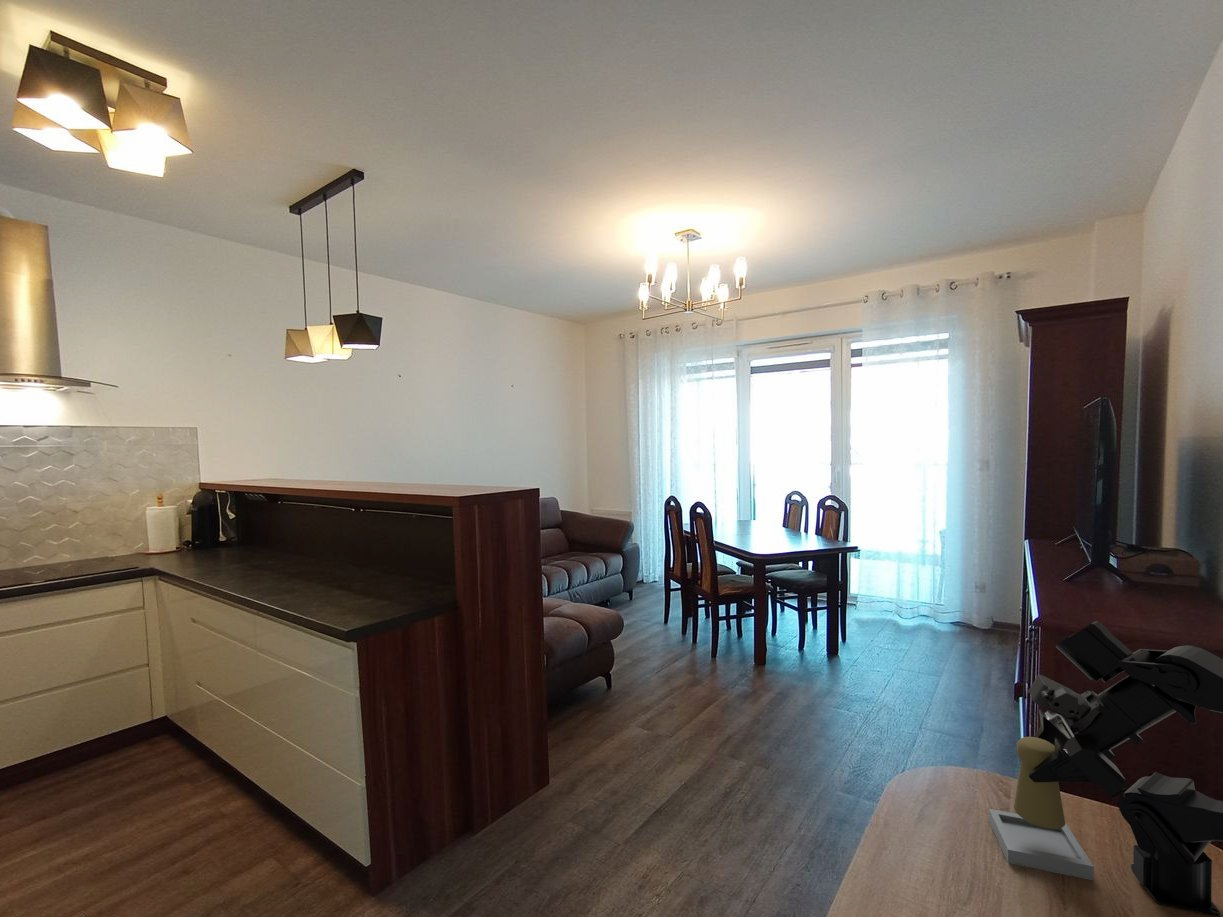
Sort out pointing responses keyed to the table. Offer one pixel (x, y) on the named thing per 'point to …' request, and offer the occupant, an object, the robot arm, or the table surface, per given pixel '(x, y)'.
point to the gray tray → (1040, 846)
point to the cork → (1037, 787)
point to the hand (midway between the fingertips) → (1026, 768)
